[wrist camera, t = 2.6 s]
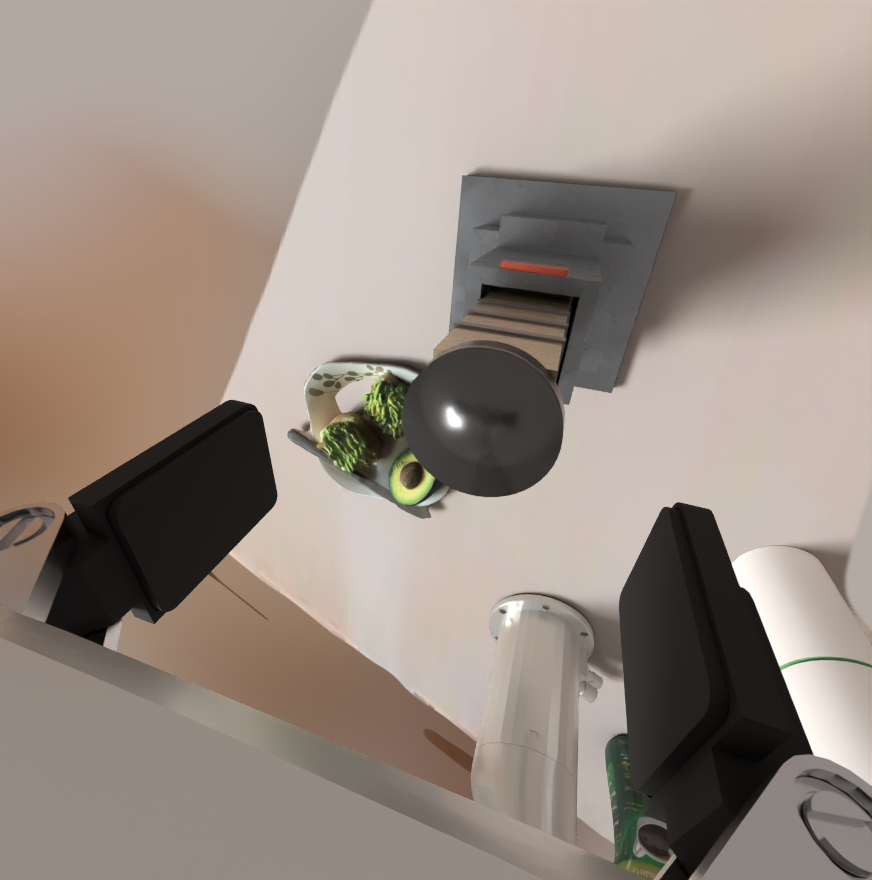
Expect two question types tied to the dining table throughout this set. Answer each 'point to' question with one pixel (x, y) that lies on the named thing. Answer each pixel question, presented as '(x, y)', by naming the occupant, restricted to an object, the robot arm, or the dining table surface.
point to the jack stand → (563, 260)
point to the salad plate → (367, 436)
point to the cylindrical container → (815, 651)
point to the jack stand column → (492, 395)
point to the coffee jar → (633, 818)
